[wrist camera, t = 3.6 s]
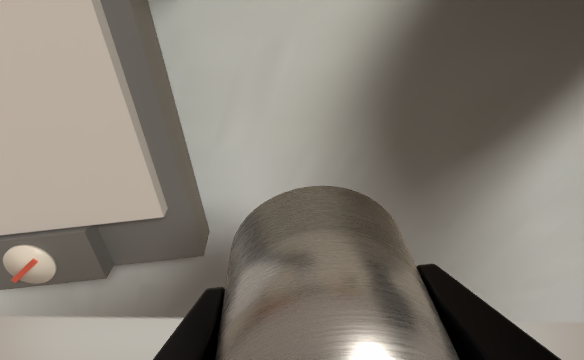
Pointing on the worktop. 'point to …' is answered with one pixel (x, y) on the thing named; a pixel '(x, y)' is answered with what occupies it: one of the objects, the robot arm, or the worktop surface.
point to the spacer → (326, 285)
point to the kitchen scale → (89, 145)
